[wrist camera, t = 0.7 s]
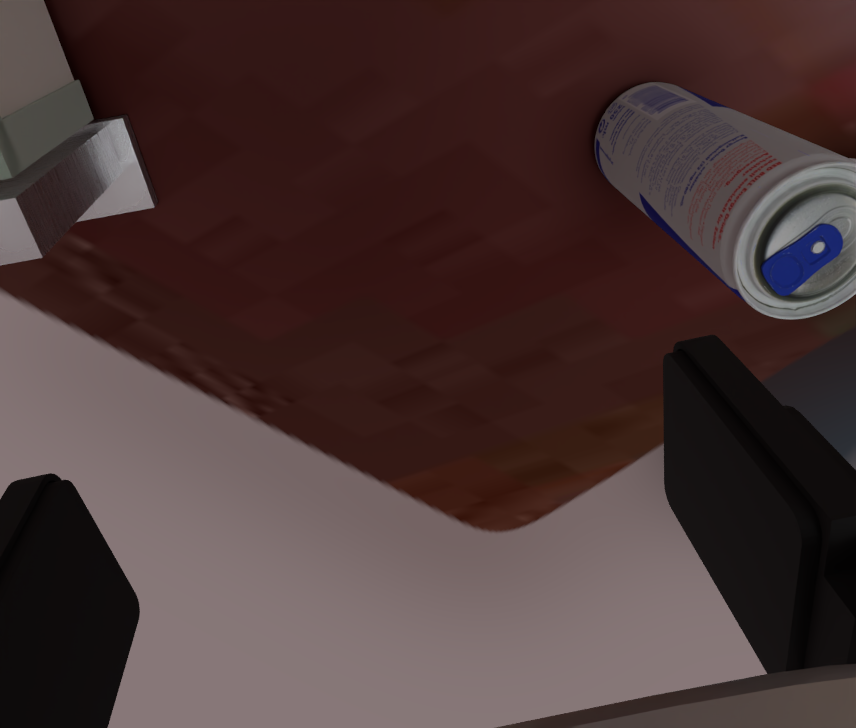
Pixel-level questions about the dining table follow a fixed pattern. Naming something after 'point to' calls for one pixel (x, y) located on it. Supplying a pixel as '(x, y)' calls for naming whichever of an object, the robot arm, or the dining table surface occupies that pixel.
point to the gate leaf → (34, 87)
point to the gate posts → (73, 188)
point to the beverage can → (737, 196)
